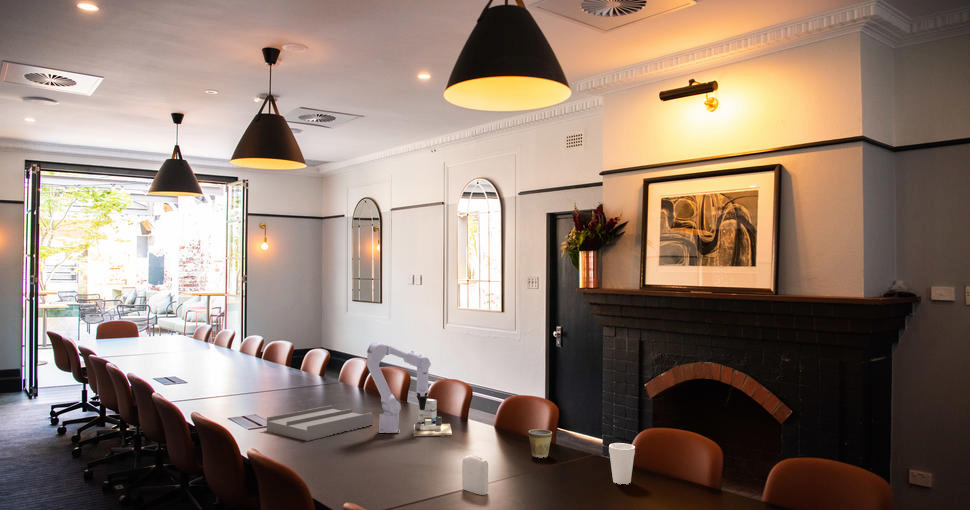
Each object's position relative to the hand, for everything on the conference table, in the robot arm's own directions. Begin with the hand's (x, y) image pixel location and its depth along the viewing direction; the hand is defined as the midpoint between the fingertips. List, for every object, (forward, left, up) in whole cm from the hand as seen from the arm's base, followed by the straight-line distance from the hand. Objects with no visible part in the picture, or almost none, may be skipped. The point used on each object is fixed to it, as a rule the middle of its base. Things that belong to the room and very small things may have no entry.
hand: (422, 408), depth 321 cm
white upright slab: (+18, -98, -10) cm, 100 cm away
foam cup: (+73, -91, -10) cm, 117 cm away
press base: (+5, -7, -10) cm, 13 cm away
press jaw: (+3, -5, -8) cm, 10 cm away
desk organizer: (-50, +4, -11) cm, 51 cm away
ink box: (+3, +15, -10) cm, 18 cm away
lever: (+3, -10, -8) cm, 13 cm away
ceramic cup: (+50, -52, -10) cm, 73 cm away
